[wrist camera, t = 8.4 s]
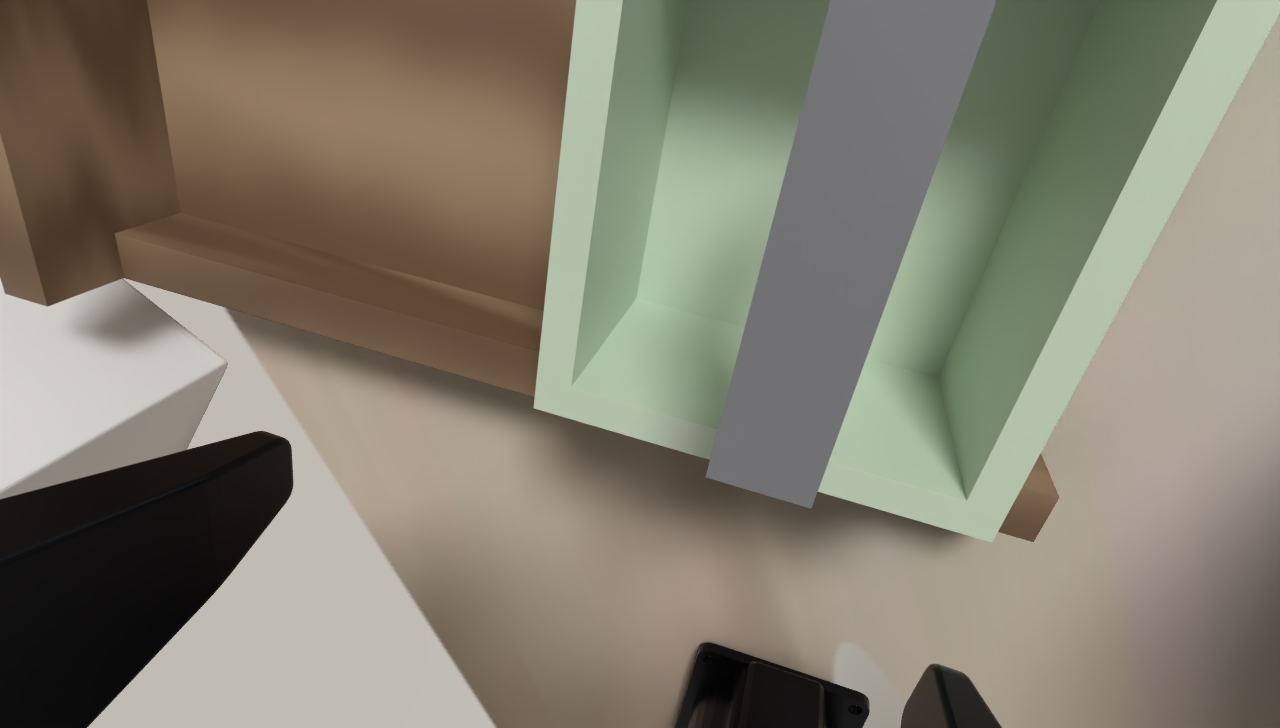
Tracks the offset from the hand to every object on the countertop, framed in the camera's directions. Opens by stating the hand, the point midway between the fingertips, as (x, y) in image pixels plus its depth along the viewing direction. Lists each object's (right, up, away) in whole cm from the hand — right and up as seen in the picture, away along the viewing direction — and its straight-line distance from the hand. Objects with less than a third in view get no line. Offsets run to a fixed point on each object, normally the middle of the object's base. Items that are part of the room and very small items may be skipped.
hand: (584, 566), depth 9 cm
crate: (+6, +8, +8) cm, 13 cm away
